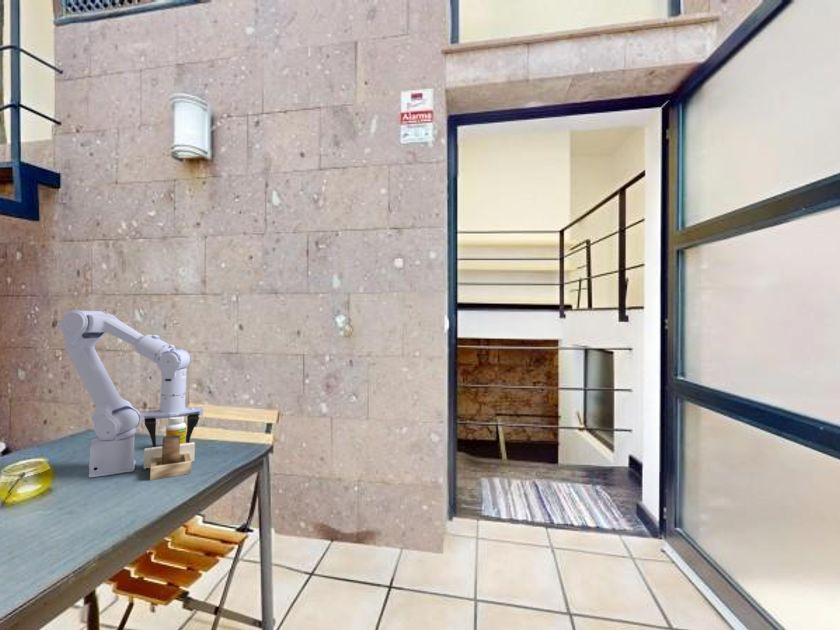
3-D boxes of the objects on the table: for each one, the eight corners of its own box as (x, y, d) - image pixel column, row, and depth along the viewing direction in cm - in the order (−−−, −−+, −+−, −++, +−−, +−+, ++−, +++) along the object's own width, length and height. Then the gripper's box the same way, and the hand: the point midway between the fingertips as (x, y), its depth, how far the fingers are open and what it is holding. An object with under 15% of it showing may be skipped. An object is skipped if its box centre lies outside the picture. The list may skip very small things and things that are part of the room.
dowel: (161, 471, 104) (162, 440, 104) (161, 465, 107) (162, 436, 107) (179, 468, 106) (180, 438, 106) (178, 463, 110) (179, 434, 110)
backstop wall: (143, 469, 107) (144, 450, 107) (143, 466, 109) (144, 448, 109) (194, 461, 114) (194, 444, 114) (193, 459, 116) (194, 442, 116)
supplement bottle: (178, 451, 121) (179, 419, 121) (161, 450, 122) (162, 419, 122) (189, 445, 127) (190, 415, 127) (172, 444, 127) (173, 414, 127)
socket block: (150, 480, 101) (150, 468, 101) (150, 468, 108) (150, 457, 108) (190, 473, 106) (191, 462, 106) (188, 462, 113) (188, 451, 113)
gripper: (140, 399, 100) (137, 452, 100) (205, 394, 108) (203, 444, 108) (140, 393, 105) (138, 444, 105) (202, 390, 114) (200, 437, 114)
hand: (171, 444), depth 107 cm, fingers open, 7 cm apart
